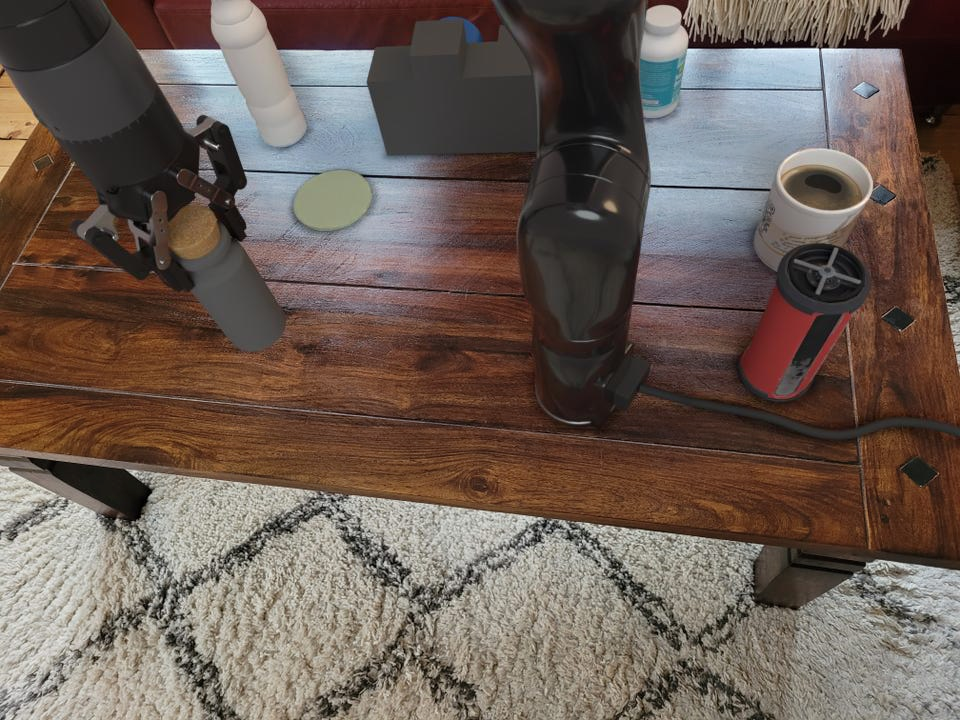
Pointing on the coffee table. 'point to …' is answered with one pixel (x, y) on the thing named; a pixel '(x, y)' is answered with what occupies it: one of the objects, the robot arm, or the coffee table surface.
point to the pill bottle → (662, 60)
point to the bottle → (225, 279)
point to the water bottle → (258, 70)
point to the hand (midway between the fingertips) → (211, 260)
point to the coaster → (332, 200)
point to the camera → (453, 92)
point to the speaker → (803, 319)
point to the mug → (812, 203)
